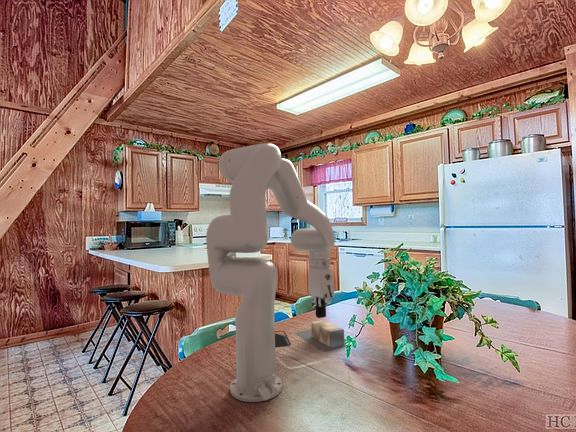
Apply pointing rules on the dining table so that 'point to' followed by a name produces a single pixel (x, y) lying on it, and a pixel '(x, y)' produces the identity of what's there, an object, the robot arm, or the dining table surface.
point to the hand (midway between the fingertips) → (320, 316)
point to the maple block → (327, 333)
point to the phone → (281, 340)
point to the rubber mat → (316, 341)
